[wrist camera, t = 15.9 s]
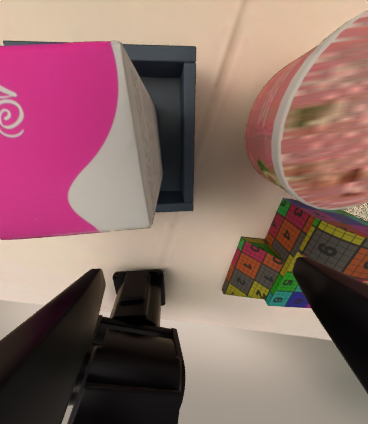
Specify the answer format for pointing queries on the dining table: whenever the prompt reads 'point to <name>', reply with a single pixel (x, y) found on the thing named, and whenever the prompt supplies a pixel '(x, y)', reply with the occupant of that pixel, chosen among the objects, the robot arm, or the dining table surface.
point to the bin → (168, 114)
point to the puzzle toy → (297, 253)
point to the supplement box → (75, 141)
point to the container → (317, 122)
